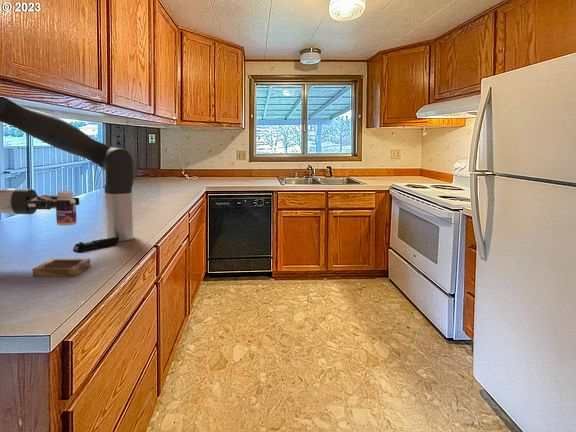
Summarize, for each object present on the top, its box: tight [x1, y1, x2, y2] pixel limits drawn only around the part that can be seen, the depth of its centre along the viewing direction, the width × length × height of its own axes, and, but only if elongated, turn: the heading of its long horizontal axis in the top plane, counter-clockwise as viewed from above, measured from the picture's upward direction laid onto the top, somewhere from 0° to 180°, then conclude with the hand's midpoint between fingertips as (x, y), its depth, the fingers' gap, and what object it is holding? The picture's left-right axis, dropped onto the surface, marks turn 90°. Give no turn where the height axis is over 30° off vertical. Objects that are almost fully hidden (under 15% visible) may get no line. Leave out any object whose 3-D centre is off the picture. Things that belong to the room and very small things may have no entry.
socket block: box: [32, 258, 91, 277], centre depth 128 cm, size 11×11×2 cm
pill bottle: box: [55, 190, 78, 227], centre depth 137 cm, size 5×5×10 cm
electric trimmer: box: [72, 237, 119, 253], centre depth 155 cm, size 4×16×3 cm, turn 142°
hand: (74, 202), depth 136 cm, fingers closed on pill bottle, 5 cm apart
